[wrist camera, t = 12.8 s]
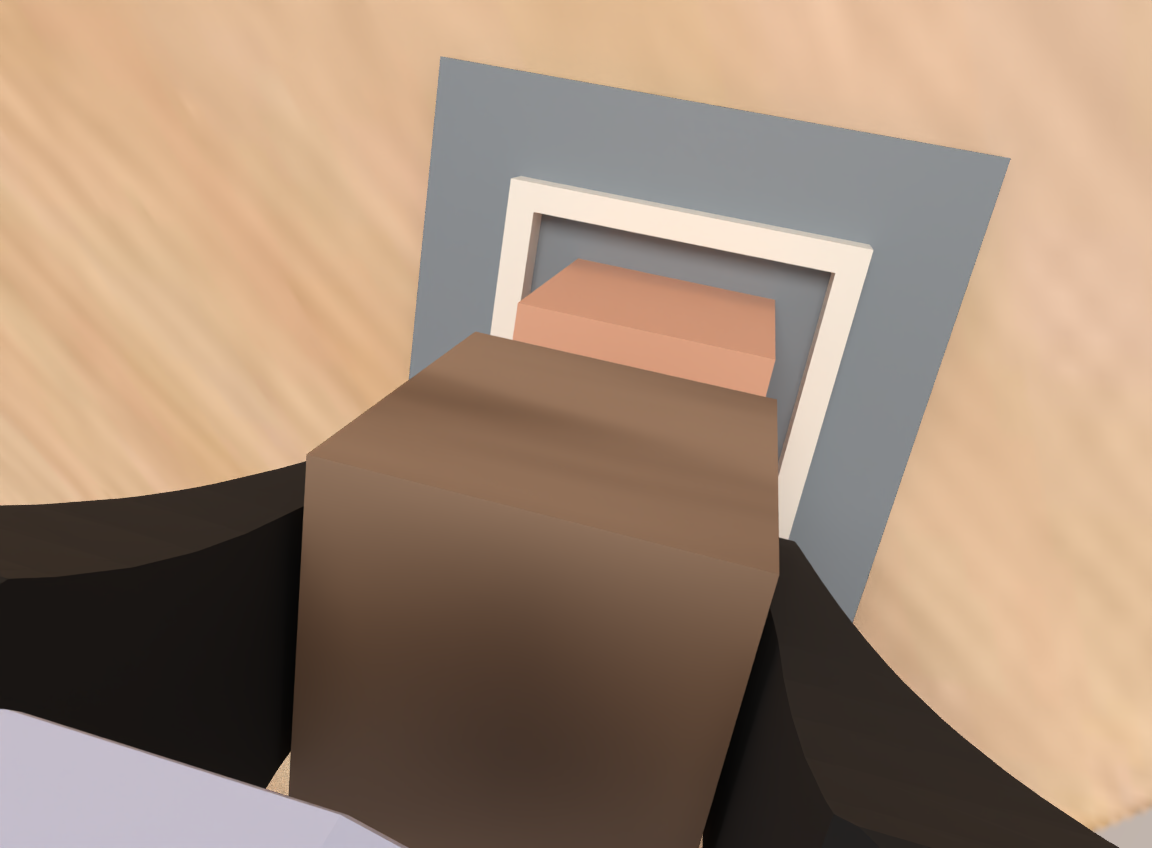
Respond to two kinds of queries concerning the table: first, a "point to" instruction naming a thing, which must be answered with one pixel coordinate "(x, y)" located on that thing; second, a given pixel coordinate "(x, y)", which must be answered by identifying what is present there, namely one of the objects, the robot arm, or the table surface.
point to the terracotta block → (653, 325)
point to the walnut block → (532, 601)
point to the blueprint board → (722, 259)
